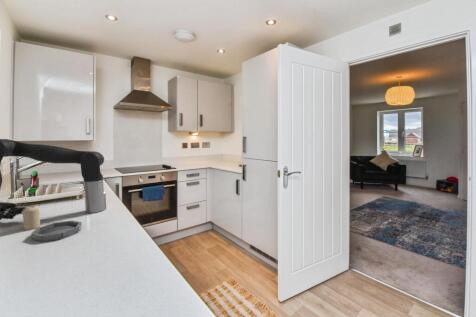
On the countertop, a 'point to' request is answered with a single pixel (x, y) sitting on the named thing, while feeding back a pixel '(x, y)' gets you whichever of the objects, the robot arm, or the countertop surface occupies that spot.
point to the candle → (31, 218)
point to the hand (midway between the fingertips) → (24, 213)
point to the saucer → (56, 231)
